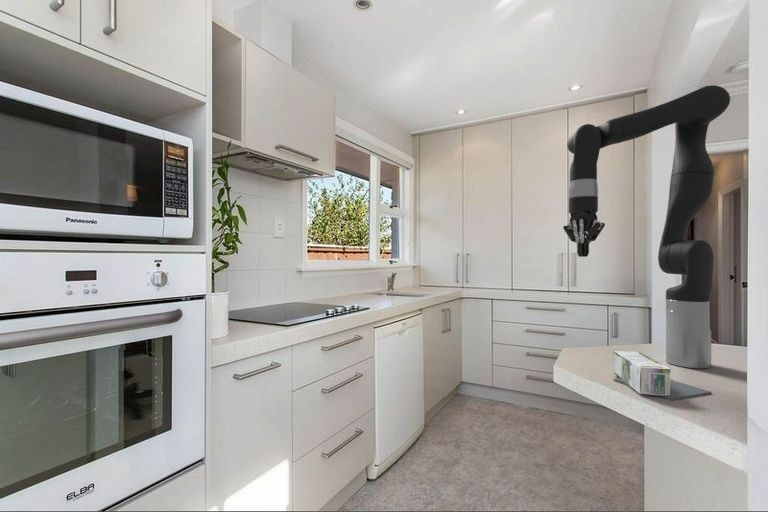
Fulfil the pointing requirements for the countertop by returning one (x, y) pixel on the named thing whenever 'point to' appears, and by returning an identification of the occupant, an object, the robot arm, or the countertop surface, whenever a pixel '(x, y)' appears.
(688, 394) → the mat
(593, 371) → the countertop surface
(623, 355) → the syrup box
